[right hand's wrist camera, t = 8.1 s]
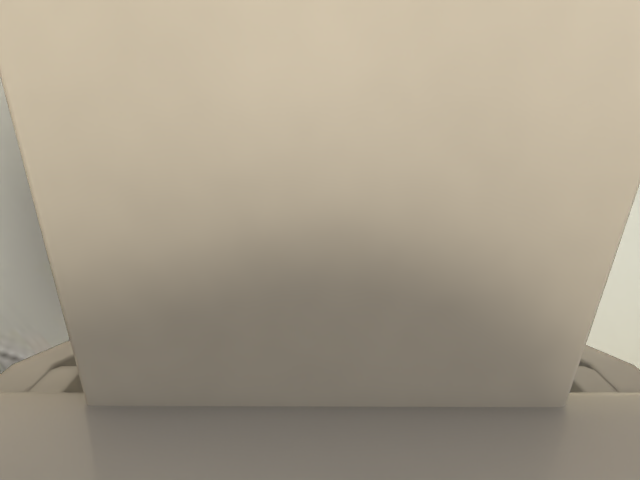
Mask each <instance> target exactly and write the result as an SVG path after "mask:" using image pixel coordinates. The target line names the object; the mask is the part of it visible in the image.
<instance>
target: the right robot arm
mask: <svg viewBox="0 0 640 480" xmlns="http://www.w3.org/2000/svg"><path fill="white" fill-rule="evenodd" d="M0 480H640V370H639V369H638V368H637V367H636V366H634V365H632V364H630V363H628V362H625V361H623V360H620V359H618V358H616V357H613V356H611V355H609V354H606V353H604V352H602V351H599V350H597V349H595V348H592V347H590V346H588V345H585V348H584V351H583V354H582V357H581V360H580V363H579V366H578V369H577V372H576V375H575V378H574V381H573V384H572V387H571V390H570V393H569V396H568V399H567V402H566V404H565V406H564V407H288V406H89V405H87V403H86V399H85V396H84V392H83V388H82V384H81V380H80V377H79V373H78V369H77V365H76V361H75V358H74V354H73V350H72V346H71V342H70V340H69V341H66V342H64V343H62V344H59V345H57V346H55V347H52V348H50V349H48V350H45V351H43V352H41V353H38V354H36V355H34V356H31V357H29V358H27V359H24V360H22V361H20V362H17V363H15V364H13V365H11V366H10V367H9V368H7V369H6V370H5V371H4V372H3V373H1V374H0Z"/></svg>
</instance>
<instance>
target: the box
mask: <svg viewBox="0 0 640 480" xmlns="http://www.w3.org/2000/svg"><path fill="white" fill-rule="evenodd" d="M0 76H1V80H2V84H3V88H4V91H5V95H6V99H7V103H8V107H9V110H10V114H11V118H12V122H13V126H14V129H15V133H16V137H17V141H18V145H19V149H20V152H21V156H22V160H23V164H24V168H25V171H26V175H27V179H28V183H29V187H30V190H31V194H32V198H33V202H34V206H35V209H36V213H37V217H38V221H39V225H40V228H41V232H42V236H43V240H44V244H45V247H46V251H47V255H48V259H49V263H50V266H51V270H52V274H53V278H54V282H55V285H56V289H57V293H58V297H59V301H60V304H61V308H62V312H63V316H64V320H65V323H66V327H67V331H68V335H69V339H70V342H71V346H72V350H73V354H74V358H75V361H76V365H77V369H78V373H79V377H80V380H81V384H82V388H83V392H84V396H85V399H86V403H87V405H89V406H288V407H564V406H565V404H566V402H567V399H568V396H569V393H570V390H571V387H572V384H573V381H574V378H575V375H576V372H577V369H578V366H579V363H580V360H581V357H582V354H583V351H584V348H585V345H586V342H587V339H588V336H589V333H590V330H591V327H592V324H593V321H594V318H595V315H596V312H597V309H598V306H599V303H600V300H601V297H602V294H603V291H604V288H605V285H606V282H607V279H608V276H609V273H610V270H611V267H612V264H613V261H614V258H615V256H616V253H617V250H618V247H619V244H620V241H621V238H622V235H623V232H624V229H625V226H626V223H627V220H628V217H629V214H630V211H631V208H632V205H633V202H634V199H635V196H636V193H637V190H638V187H639V184H640V0H0Z"/></svg>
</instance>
